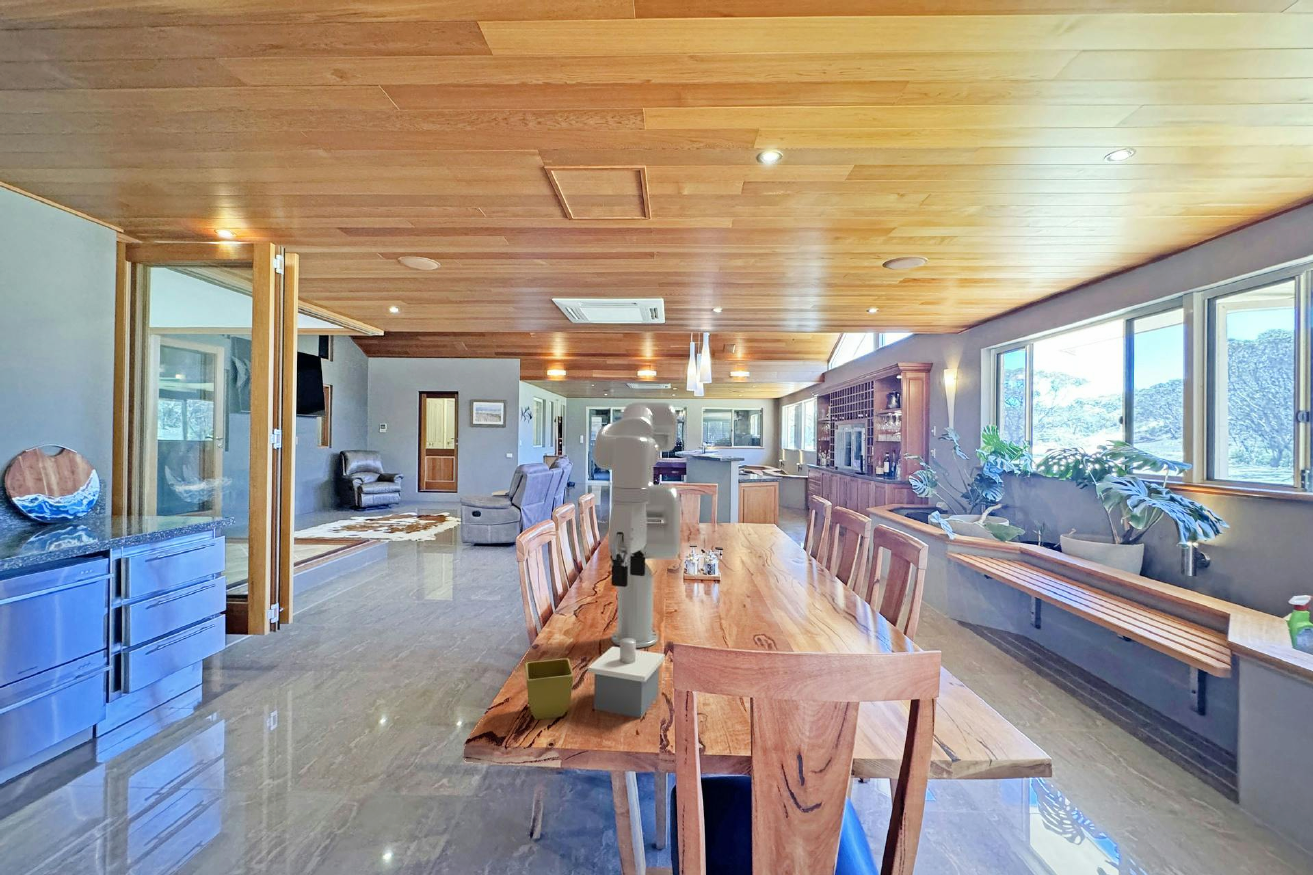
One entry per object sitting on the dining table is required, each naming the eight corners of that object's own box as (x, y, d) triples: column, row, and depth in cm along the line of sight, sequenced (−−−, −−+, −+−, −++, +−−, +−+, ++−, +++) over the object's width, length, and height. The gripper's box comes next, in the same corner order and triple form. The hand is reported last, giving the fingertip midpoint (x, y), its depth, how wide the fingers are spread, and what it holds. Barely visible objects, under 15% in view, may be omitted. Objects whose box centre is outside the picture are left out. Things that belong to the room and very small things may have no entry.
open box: (614, 690, 118) (614, 653, 118) (658, 698, 115) (658, 660, 115) (593, 711, 109) (594, 671, 109) (641, 720, 105) (641, 679, 105)
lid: (612, 654, 119) (612, 627, 119) (664, 662, 115) (665, 635, 116) (587, 676, 108) (588, 646, 108) (644, 686, 104) (645, 655, 104)
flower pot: (525, 728, 102) (526, 679, 102) (524, 706, 110) (524, 661, 111) (573, 722, 104) (574, 675, 105) (568, 701, 113) (568, 657, 113)
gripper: (629, 492, 122) (627, 570, 121) (595, 498, 105) (593, 588, 105) (661, 494, 119) (659, 573, 119) (631, 500, 103) (630, 592, 102)
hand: (628, 580), depth 112 cm, fingers open, 9 cm apart
